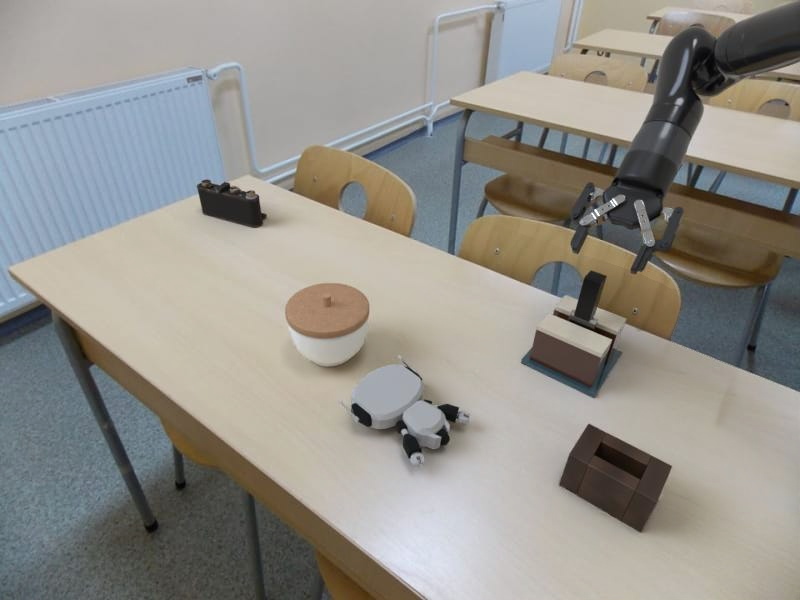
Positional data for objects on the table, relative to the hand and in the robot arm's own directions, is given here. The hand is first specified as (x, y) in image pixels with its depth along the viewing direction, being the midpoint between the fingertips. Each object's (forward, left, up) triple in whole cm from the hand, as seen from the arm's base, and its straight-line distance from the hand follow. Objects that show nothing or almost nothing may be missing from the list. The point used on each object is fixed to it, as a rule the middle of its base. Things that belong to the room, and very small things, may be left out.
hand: (603, 262), depth 74 cm
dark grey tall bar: (0, +2, -16) cm, 17 cm away
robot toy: (+13, +29, -17) cm, 36 cm away
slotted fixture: (0, +2, -17) cm, 17 cm away
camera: (+81, +5, -17) cm, 83 cm away
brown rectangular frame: (-13, +22, -17) cm, 31 cm away
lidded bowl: (+31, +25, -17) cm, 43 cm away
